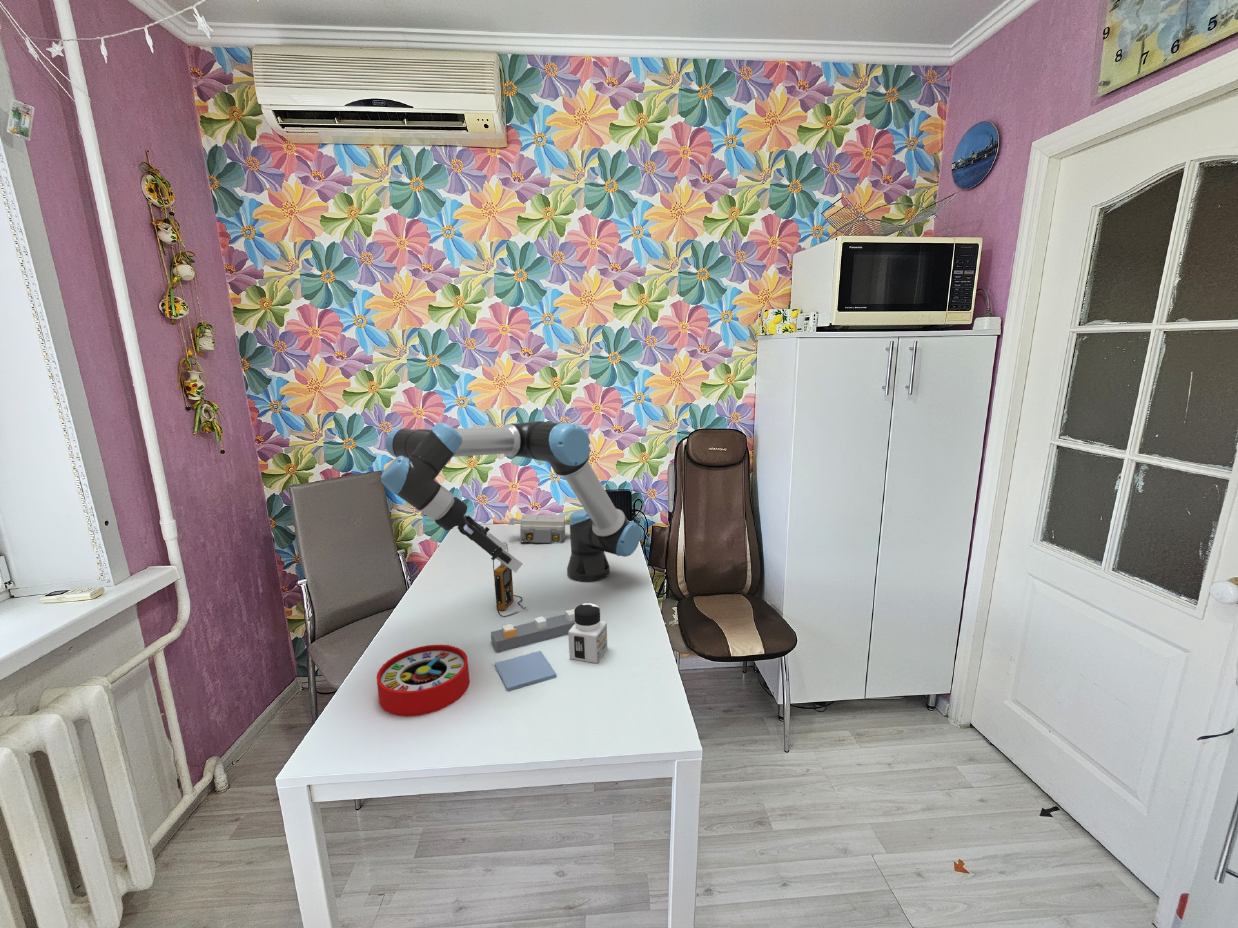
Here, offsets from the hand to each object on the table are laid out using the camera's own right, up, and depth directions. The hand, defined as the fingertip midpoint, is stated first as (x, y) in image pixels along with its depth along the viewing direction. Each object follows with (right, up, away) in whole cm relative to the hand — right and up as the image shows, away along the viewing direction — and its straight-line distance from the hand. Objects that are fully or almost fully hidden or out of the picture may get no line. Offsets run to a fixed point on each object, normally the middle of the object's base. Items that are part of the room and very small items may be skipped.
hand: (511, 558), depth 135 cm
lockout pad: (+4, -27, -2) cm, 28 cm away
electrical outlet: (-5, -9, +95) cm, 95 cm away
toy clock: (-19, -29, -8) cm, 36 cm away
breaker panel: (+5, -24, +15) cm, 29 cm away
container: (+19, -26, +5) cm, 32 cm away
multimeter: (-5, -21, +33) cm, 39 cm away
